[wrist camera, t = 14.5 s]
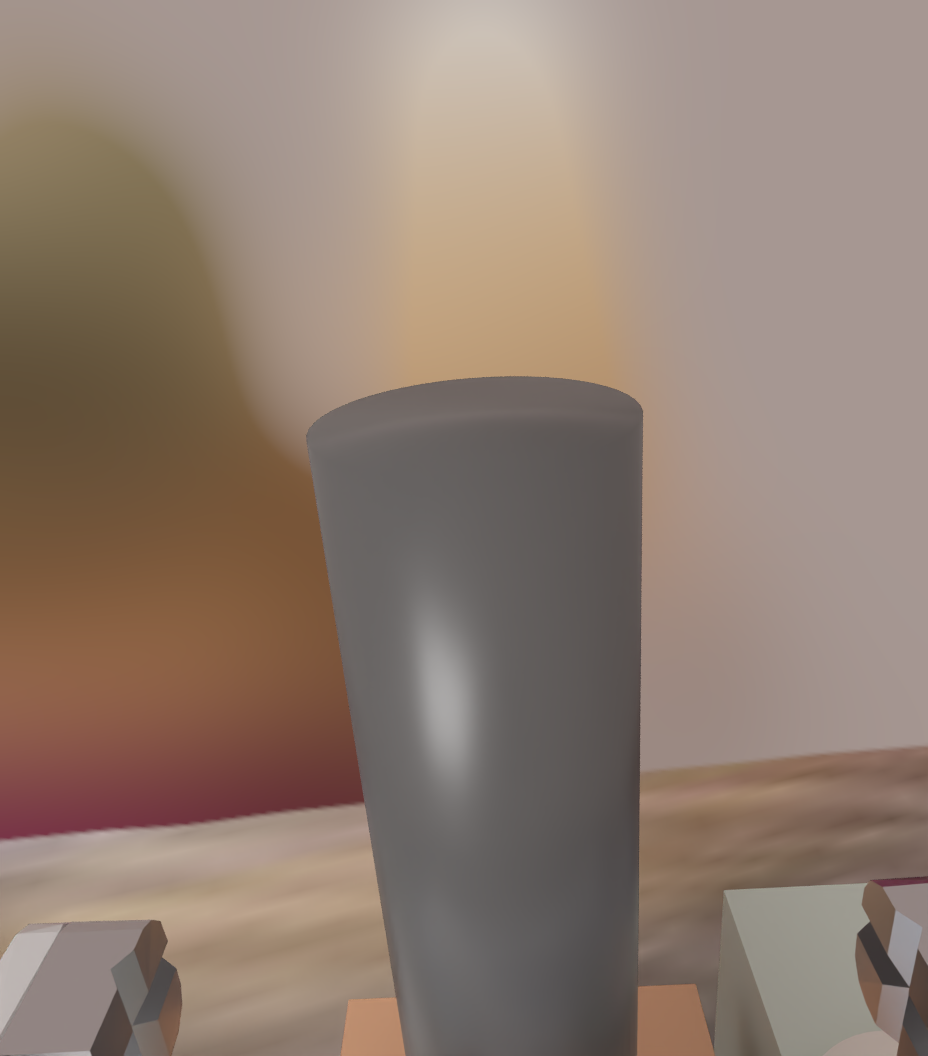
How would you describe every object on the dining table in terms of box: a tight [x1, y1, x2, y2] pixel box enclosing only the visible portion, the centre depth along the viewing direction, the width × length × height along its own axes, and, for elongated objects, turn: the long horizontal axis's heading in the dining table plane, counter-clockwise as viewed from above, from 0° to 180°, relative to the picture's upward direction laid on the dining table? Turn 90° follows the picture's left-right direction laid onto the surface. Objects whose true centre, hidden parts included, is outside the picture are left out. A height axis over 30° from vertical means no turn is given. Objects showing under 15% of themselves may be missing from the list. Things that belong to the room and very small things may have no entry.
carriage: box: [306, 376, 715, 1056], centre depth 12 cm, size 8×9×17 cm
